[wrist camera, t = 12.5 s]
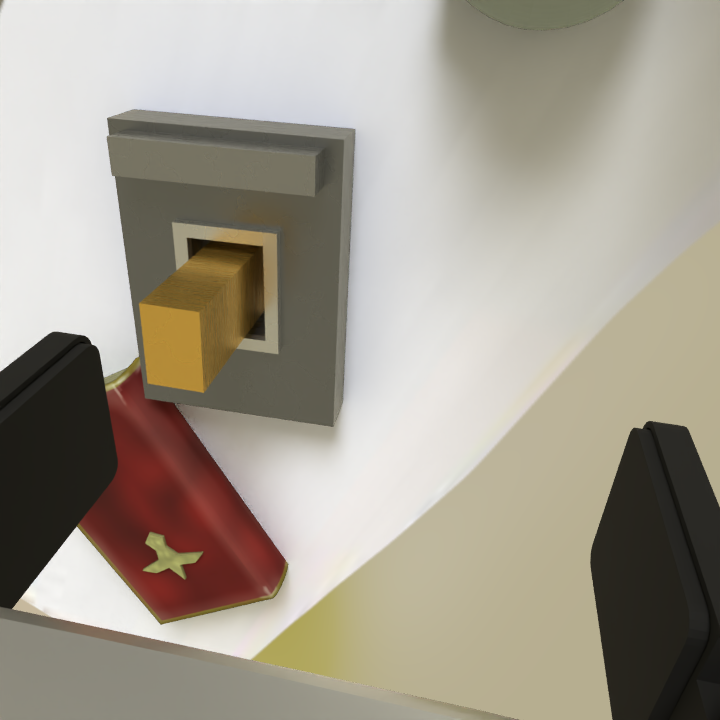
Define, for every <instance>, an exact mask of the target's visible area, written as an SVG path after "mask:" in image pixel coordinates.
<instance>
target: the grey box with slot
mask: <svg viewBox="0 0 720 720" xmlns="http://www.w3.org/2000/svg"><path fill="white" fill-rule="evenodd" d="M107 121H108V128H109V136H107V142H108V150H109V157H110V164H111V172H112V176H115V180H116V187H117V195H118V202H119V209H120V217H121V224H122V232H123V239H124V246H125V254H126V261H127V269H128V276H129V283H130V291H131V298H132V306H133V313H134V320H135V328H136V335H137V343H138V350H139V357H140V365H141V372H142V380H143V387H144V394H145V398H146V399H153V400H159V401H166V402H173V403H179V404H186V405H192V406H199V407H206V408H212V409H219V410H225V411H232V412H239V413H245V414H252V415H259V416H265V417H272V418H278V419H285V420H292V421H298V422H305V423H311V424H318V425H325V426H331V427H333V426H334V424H335V421H336V418H337V416H338V413H339V411H340V408H341V405H342V403H343V386H344V364H345V342H346V320H347V298H348V276H349V254H350V232H351V210H352V188H353V166H354V144H355V129H348V128H337V127H326V126H315V125H303V124H292V123H281V122H270V121H258V120H247V119H236V118H225V117H213V116H202V115H191V114H180V113H168V112H157V111H146V110H135V109H134V110H131V111H127V112H124V113H121V114H118V115H115V116H112V117H109V118H107ZM211 240H213V241H222V242H231V243H239V244H248V245H257V246H263V263H264V305H265V313H262V314H261V316H260V317H259V318H258V320H257V321H256V323H255V324H254V325H253V327H252V328H251V329H250V331H249V332H248V333H247V335H246V336H245V338H244V339H243V340H242V342H241V343H240V344H239V346H238V347H237V348H236V350H235V351H234V353H233V354H232V355H231V357H230V358H229V359H228V361H227V362H226V363H225V365H224V366H223V367H222V369H221V370H220V372H219V373H218V374H217V376H216V377H215V378H214V380H213V381H212V382H211V384H210V385H209V387H208V388H207V389H206V391H205V392H204V393H202V392H196V391H190V390H184V389H178V388H172V387H166V386H160V385H154V384H148V382H147V372H146V363H145V354H144V345H143V335H142V326H141V317H140V308H139V303H140V302H141V301H142V300H143V299H144V298H146V297H147V296H148V295H149V294H150V293H151V292H152V291H154V290H155V289H156V288H157V287H158V286H159V285H161V284H162V283H163V282H164V281H165V280H166V279H167V278H169V277H170V276H171V275H172V274H173V273H174V272H176V271H177V270H178V269H179V268H180V267H181V266H182V265H184V264H185V263H186V262H187V261H188V260H189V259H191V258H192V257H193V256H194V255H195V254H196V253H197V252H199V251H200V250H201V249H202V248H203V247H204V246H206V245H207V244H208V243H209V242H210V241H211Z"/></svg>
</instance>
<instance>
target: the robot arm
mask: <svg viewBox="0 0 720 720" xmlns="http://www.w3.org/2000/svg"><path fill="white" fill-rule="evenodd" d="M117 468H118V458H117V452H116V446H115V440H114V435H113V429H112V423H111V417H110V411H109V406H108V400H107V394H106V388H105V383H104V377H103V371H102V365H101V359H100V354H99V350H98V349H97V347H96V346H94V345H92V344H91V341H90V340H89V339H88V338H87V337H86V336H82V335H76V334H69V333H62V332H52V333H50V334H48V335H47V336H46V337H44V338H43V339H42V340H41V341H39V342H38V343H37V344H35V345H34V346H33V347H32V348H30V349H29V350H28V351H26V352H25V353H24V354H23V355H21V356H20V357H19V358H18V359H16V360H15V361H14V362H12V363H11V364H10V365H9V366H7V367H6V368H5V369H3V370H2V371H1V372H0V720H518V719H514V718H510V717H505V716H501V715H497V714H493V713H489V712H484V711H480V710H476V709H471V708H467V707H462V706H458V705H453V704H449V703H444V702H440V701H435V700H431V699H426V698H422V697H417V696H413V695H408V694H404V693H399V692H395V691H390V690H385V689H381V688H376V687H372V686H367V685H362V684H358V683H354V682H349V681H345V680H340V679H335V678H331V677H326V676H322V675H317V674H313V673H309V672H304V671H299V670H294V669H290V668H285V667H281V666H276V665H271V664H266V663H262V662H257V661H253V660H248V659H244V658H239V657H234V656H230V655H225V654H221V653H216V652H211V651H207V650H202V649H197V648H193V647H188V646H183V645H179V644H174V643H169V642H165V641H160V640H155V639H151V638H146V637H141V636H137V635H132V634H127V633H123V632H118V631H113V630H108V629H104V628H99V627H94V626H89V625H84V624H80V623H75V622H70V621H65V620H61V619H56V618H51V617H46V616H41V615H36V614H32V613H27V612H22V611H17V610H13V609H12V608H13V607H14V606H15V604H16V603H17V602H18V601H19V599H20V598H21V597H22V595H23V594H24V593H25V592H26V590H27V589H28V588H29V586H30V585H31V584H32V583H33V581H34V580H35V579H36V578H37V576H38V575H39V574H40V572H41V571H42V570H43V569H44V567H45V566H46V565H47V563H48V562H49V561H50V560H51V558H52V557H53V556H54V555H55V553H56V552H57V551H58V549H59V548H60V547H61V546H62V544H63V543H64V542H65V541H66V539H67V538H68V537H69V535H70V534H71V533H72V532H73V530H74V529H75V528H76V526H77V525H78V524H79V523H80V521H81V520H82V519H83V518H84V516H85V515H86V514H87V512H88V511H89V510H90V509H91V507H92V506H93V505H94V503H95V502H96V501H97V500H98V498H99V497H100V496H101V495H102V493H103V492H104V491H105V489H106V488H107V487H108V486H109V484H110V483H111V482H112V480H113V479H114V477H115V475H116V472H117ZM590 563H591V572H592V580H593V587H594V593H595V601H596V607H597V614H598V621H599V628H600V635H601V642H602V649H603V656H604V663H605V670H606V677H607V684H608V691H609V697H610V705H611V712H612V719H613V720H720V507H719V504H718V502H717V499H716V497H715V495H714V492H713V490H712V487H711V485H710V482H709V480H708V477H707V475H706V472H705V470H704V467H703V465H702V462H701V460H700V457H699V455H698V453H697V450H696V448H695V445H694V442H693V440H692V438H691V435H690V433H689V430H688V429H687V427H684V426H679V425H672V424H665V423H659V422H653V421H648V422H646V424H645V425H644V427H643V429H639V428H633V429H632V431H631V432H630V435H629V437H628V441H627V443H626V446H625V449H624V453H623V455H622V458H621V461H620V464H619V467H618V471H617V473H616V476H615V479H614V482H613V485H612V488H611V491H610V494H609V497H608V500H607V503H606V506H605V509H604V512H603V515H602V518H601V521H600V524H599V527H598V530H597V534H596V536H595V539H594V542H593V545H592V550H591V562H590Z"/></svg>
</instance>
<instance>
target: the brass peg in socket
mask: <svg viewBox="0 0 720 720" xmlns="http://www.w3.org/2000/svg"><path fill="white" fill-rule="evenodd" d="M139 308H140V317H141V326H142V335H143V345H144V354H145V363H146V372H147V382H148V384H154V385H160V386H166V387H172V388H178V389H184V390H190V391H196V392H202V393H204V392H205V391H206V389H207V388H208V387H209V385H210V384H211V382H212V381H213V380H214V378H215V377H216V376H217V374H218V373H219V372H220V370H221V369H222V367H223V366H224V365H225V363H226V362H227V361H228V359H229V358H230V357H231V355H232V354H233V353H234V351H235V350H236V348H237V347H238V346H239V344H240V343H241V342H242V340H243V339H244V338H245V336H246V335H247V333H248V332H249V331H250V329H251V328H252V327H253V325H254V324H255V323H256V321H257V320H258V318H259V317H260V316H261V314H262V313H263V312H264V310H265V305H264V263H263V246H257V245H248V244H239V243H231V242H222V241H213V240H211V241H210V242H209V243H208V244H207V245H206V246H204V247H203V248H202V249H201V250H200V251H199V252H197V253H196V254H195V255H194V256H193V257H192V258H191V259H189V260H188V261H187V262H186V263H185V264H184V265H182V266H181V267H180V268H179V269H178V270H177V271H176V272H174V273H173V274H172V275H171V276H170V277H169V278H167V279H166V280H165V281H164V282H163V283H162V284H161V285H159V286H158V287H157V288H156V289H155V290H154V291H152V292H151V293H150V294H149V295H148V296H147V297H146V298H144V299H143V300H142V301H141V302H140V303H139Z"/></svg>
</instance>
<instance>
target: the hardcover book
mask: <svg viewBox="0 0 720 720" xmlns="http://www.w3.org/2000/svg"><path fill="white" fill-rule="evenodd" d="M104 383H105V388H106V394H107V400H108V406H109V411H110V417H111V423H112V429H113V435H114V440H115V446H116V452H117V458H118V468H117V472H116V475H115V477H114V479H113V480H112V482H111V483H110V484H109V486H108V487H107V488H106V489H105V491H104V492H103V493H102V495H101V496H100V497H99V498H98V500H97V501H96V502H95V503H94V505H93V506H92V507H91V509H90V510H89V511H88V512H87V514H86V515H85V516H84V518H83V519H82V520H81V521H80V523H79V524H78V525H77V527H78V528H79V529H80V531H81V532H82V533H83V534H84V535H85V536H86V538H87V539H88V540H89V541H90V542H91V543H92V545H93V546H94V547H95V548H96V549H97V550H98V552H99V553H100V554H101V555H102V556H103V557H104V559H105V560H106V561H107V562H108V563H109V564H110V566H111V567H112V568H113V569H114V570H115V571H116V573H117V574H118V575H119V576H120V577H121V578H122V580H123V581H124V582H125V583H126V584H127V585H128V587H129V588H130V589H131V590H132V591H133V592H134V594H135V595H136V596H137V597H138V598H139V600H140V601H141V602H142V603H143V604H144V605H145V607H146V608H147V609H148V610H149V611H150V612H151V614H152V615H153V616H154V617H155V618H156V619H157V621H158V622H159V623H160V624H165V623H170V622H174V621H178V620H182V619H187V618H191V617H195V616H199V615H204V614H208V613H212V612H217V611H221V610H225V609H229V608H234V607H238V606H242V605H247V604H251V603H255V602H259V601H264V600H268V599H272V598H274V597H275V596H276V594H277V593H278V591H279V589H280V587H281V585H282V583H283V581H284V578H285V575H286V572H287V568H288V563H287V562H286V560H285V559H284V557H283V556H282V555H281V553H280V552H279V550H278V549H277V548H276V546H275V545H274V543H273V542H272V541H271V539H270V538H269V536H268V535H267V534H266V532H265V531H264V529H263V528H262V527H261V525H260V524H259V522H258V521H257V520H256V518H255V517H254V515H253V514H252V513H251V511H250V510H249V508H248V507H247V506H246V504H245V503H244V501H243V500H242V499H241V497H240V496H239V494H238V493H237V492H236V490H235V489H234V487H233V486H232V485H231V483H230V482H229V480H228V479H227V478H226V476H225V475H224V473H223V472H222V471H221V469H220V468H219V466H218V465H217V463H216V462H215V461H214V459H213V458H212V456H211V455H210V454H209V452H208V451H207V449H206V448H205V447H204V445H203V444H202V442H201V441H200V440H199V438H198V437H197V435H196V434H195V433H194V431H193V430H192V428H191V427H190V426H189V424H188V423H187V421H186V420H185V419H184V417H183V416H182V414H181V413H180V412H179V410H178V409H177V407H176V406H175V405H174V403H173V402H166V401H159V400H153V399H146V398H145V394H144V387H143V380H142V372H141V365H140V357H138V358H136V359H135V360H134V361H133V363H132V364H131V365H130V366H129V367H128V368H126V369H124V370H121V371H119V372H117V373H115V374H112V375H110V376H108V377H105V378H104Z"/></svg>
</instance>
